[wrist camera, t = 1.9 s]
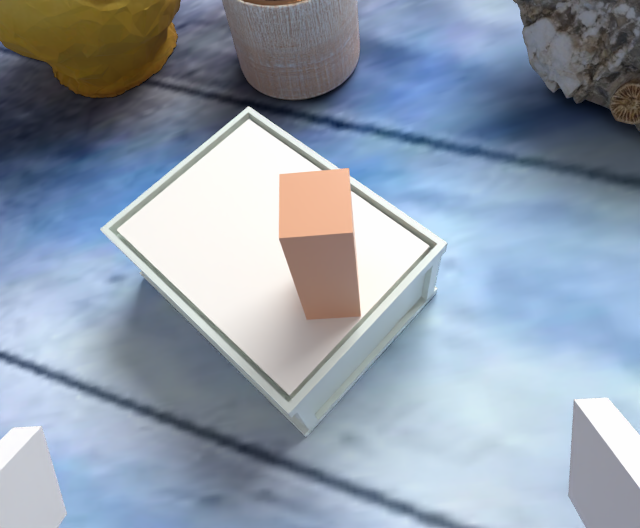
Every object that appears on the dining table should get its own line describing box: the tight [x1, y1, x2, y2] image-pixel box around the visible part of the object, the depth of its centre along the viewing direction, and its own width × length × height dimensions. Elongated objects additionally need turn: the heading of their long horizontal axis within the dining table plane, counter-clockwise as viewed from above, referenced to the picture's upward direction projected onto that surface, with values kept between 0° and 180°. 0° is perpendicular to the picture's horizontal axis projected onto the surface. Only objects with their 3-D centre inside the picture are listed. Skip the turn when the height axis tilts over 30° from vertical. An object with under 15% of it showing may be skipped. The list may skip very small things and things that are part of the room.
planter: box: [222, 0, 360, 100], centre depth 44 cm, size 11×11×10 cm
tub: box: [100, 106, 447, 437], centre depth 35 cm, size 17×13×7 cm
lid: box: [117, 119, 430, 399], centre depth 28 cm, size 16×12×10 cm
